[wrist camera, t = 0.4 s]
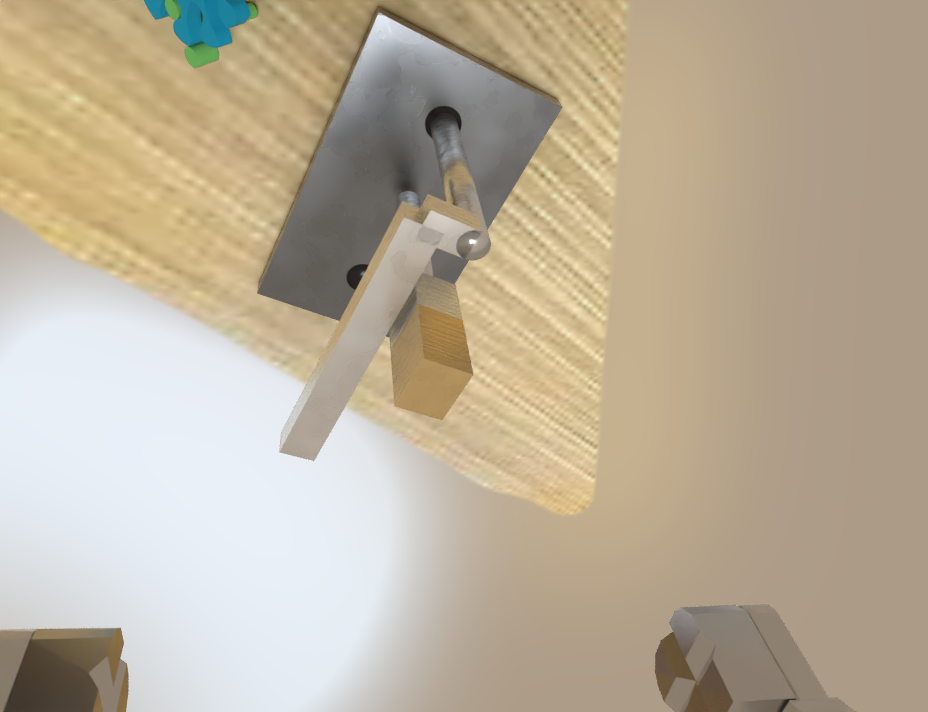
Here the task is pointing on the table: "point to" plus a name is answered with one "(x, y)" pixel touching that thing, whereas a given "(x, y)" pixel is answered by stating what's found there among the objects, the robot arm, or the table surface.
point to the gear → (203, 24)
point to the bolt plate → (398, 158)
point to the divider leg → (429, 343)
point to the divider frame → (389, 289)
